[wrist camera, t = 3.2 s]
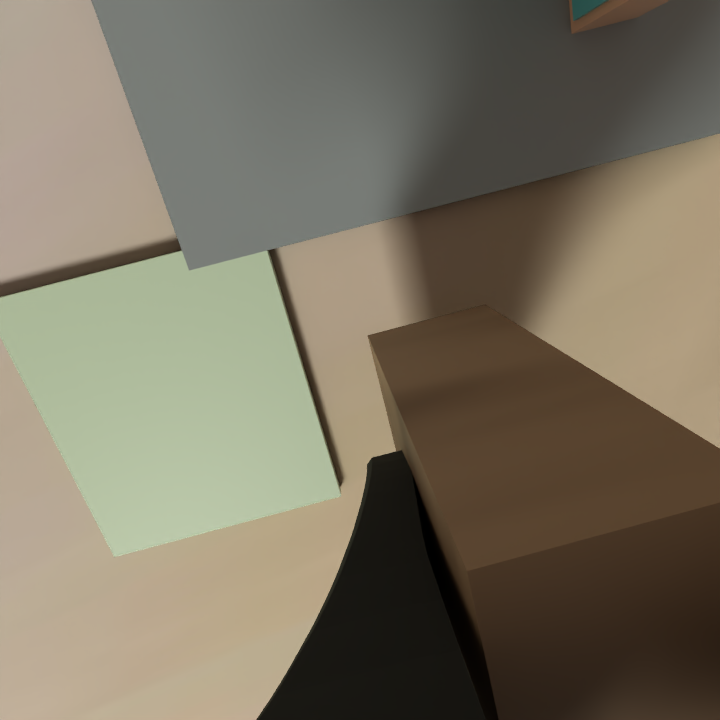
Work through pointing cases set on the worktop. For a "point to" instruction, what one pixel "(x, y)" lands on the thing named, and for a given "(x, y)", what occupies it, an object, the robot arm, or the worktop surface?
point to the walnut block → (558, 524)
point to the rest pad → (172, 395)
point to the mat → (391, 104)
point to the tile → (607, 12)
